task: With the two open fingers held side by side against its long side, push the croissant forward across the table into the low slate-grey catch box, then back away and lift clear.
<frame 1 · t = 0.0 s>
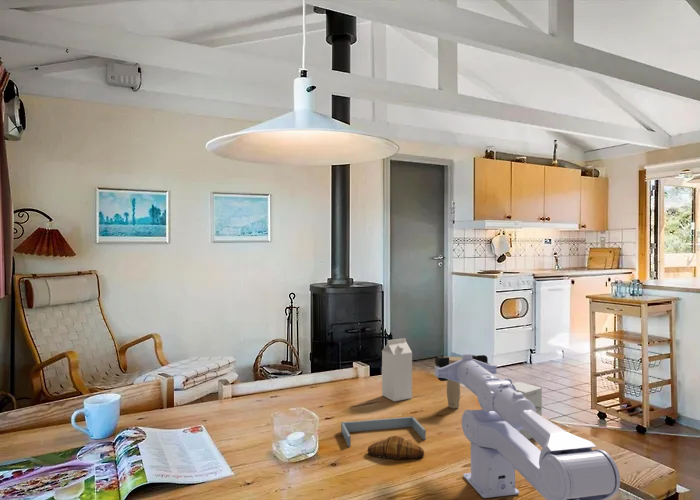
hand: (451, 358, 119), 22 cm above the table, tool horizontal, fingers open, 7 cm apart
milk carton: (397, 397, 157), on the table
handle: (453, 407, 147), on the table
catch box: (382, 435, 125), on the table
supplement box: (521, 435, 126), on the table
croissant: (395, 457, 114), on the table
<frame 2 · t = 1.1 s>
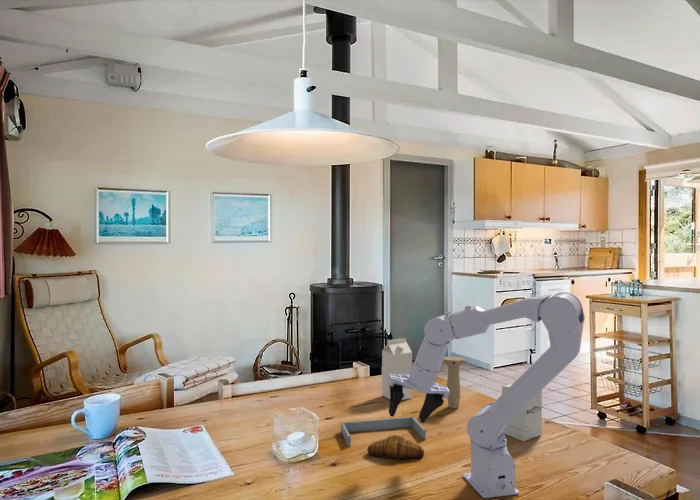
hand: (406, 417, 110), 10 cm above the table, tool tilted 20°, fingers open, 7 cm apart
nothing on the table moved.
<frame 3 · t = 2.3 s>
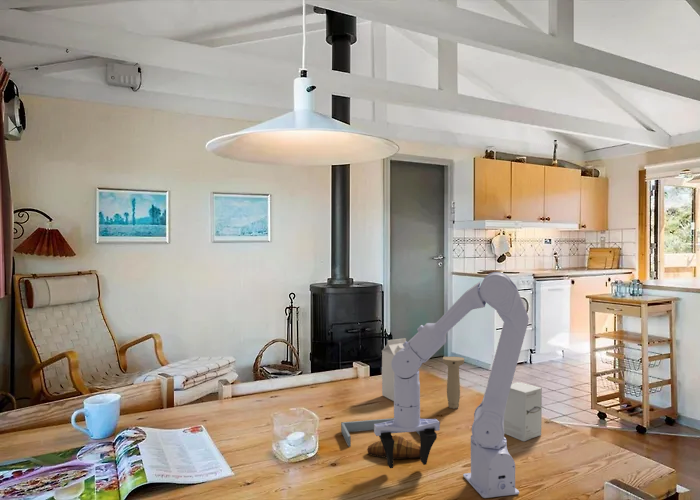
hand: (407, 464, 106), 2 cm above the table, tool pointing down, fingers open, 7 cm apart
nothing on the table moved.
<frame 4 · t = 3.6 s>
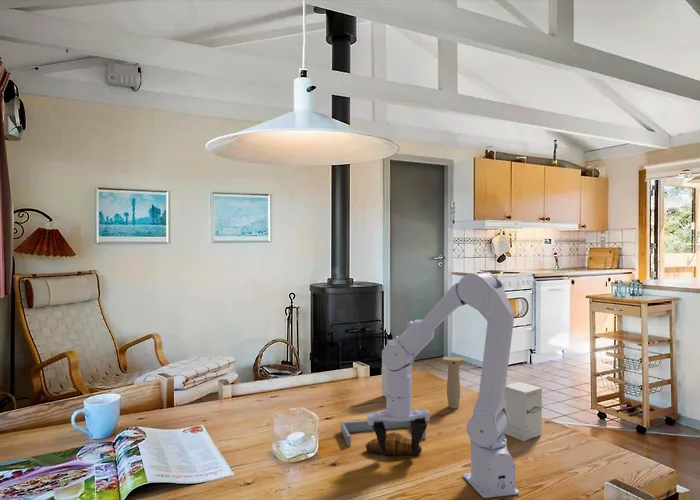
hand: (398, 452, 111), 2 cm above the table, tool pointing down, fingers open, 7 cm apart
croissant: (393, 453, 115), on the table, touching gripper
everything else where it was.
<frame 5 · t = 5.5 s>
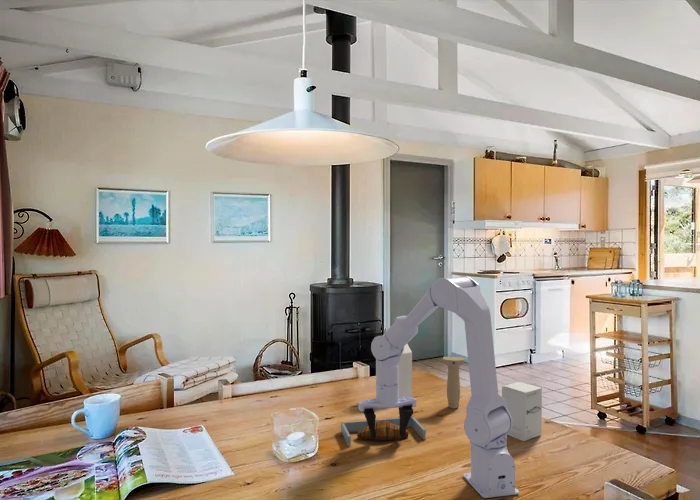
hand: (387, 436, 121), 2 cm above the table, tool pointing down, fingers open, 7 cm apart
croissant: (382, 439, 124), on the table
everything else where it was.
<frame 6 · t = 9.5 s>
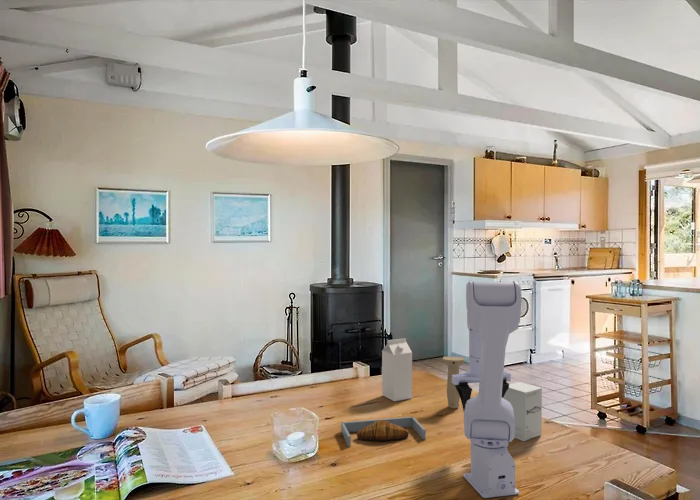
hand: (481, 412, 116), 9 cm above the table, tool pointing down, fingers open, 7 cm apart
nothing on the table moved.
at the end: croissant inside the target area (1.6 cm from its centre), on the table; croissant moved 10.4 cm from its start; the gripper is holding nothing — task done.
